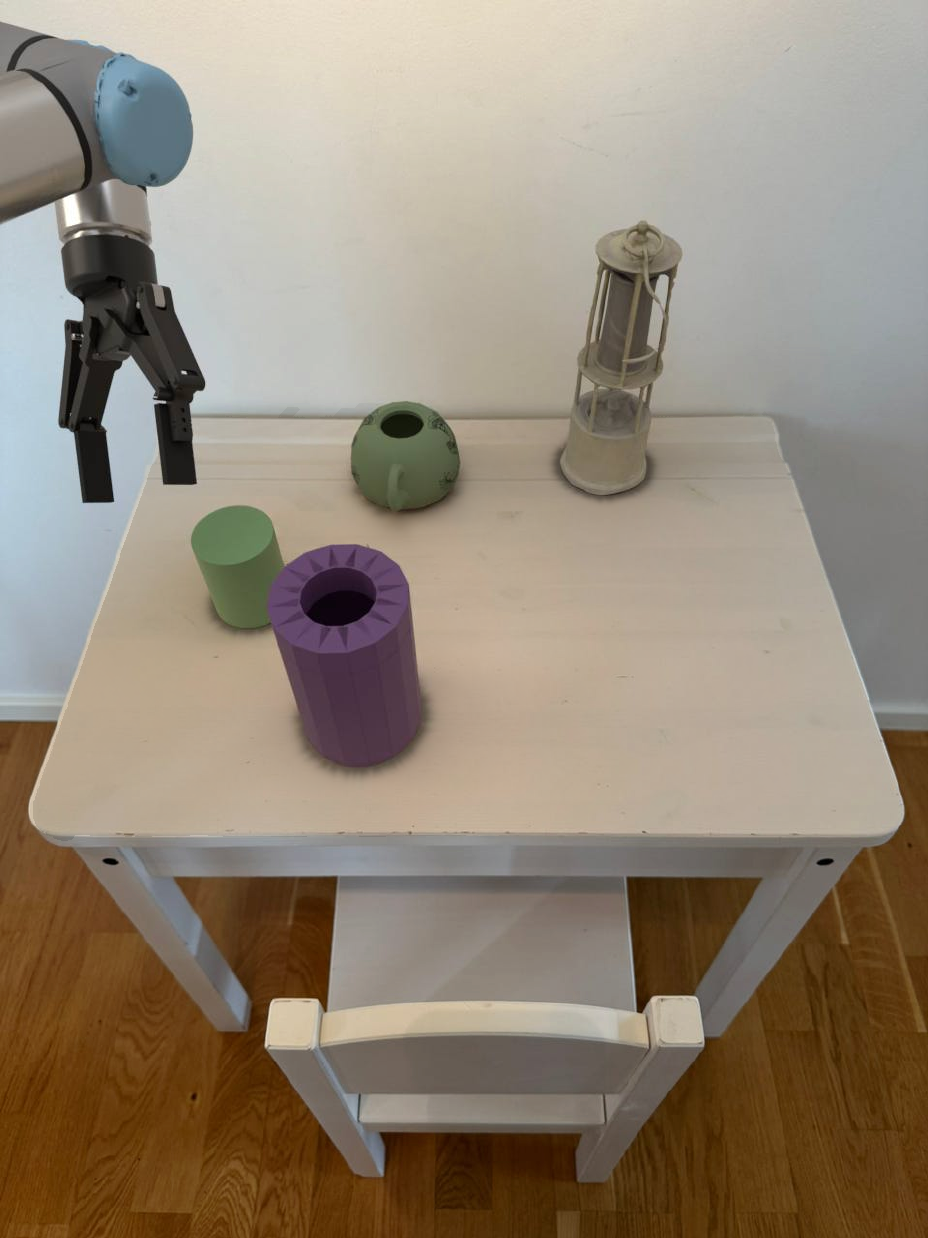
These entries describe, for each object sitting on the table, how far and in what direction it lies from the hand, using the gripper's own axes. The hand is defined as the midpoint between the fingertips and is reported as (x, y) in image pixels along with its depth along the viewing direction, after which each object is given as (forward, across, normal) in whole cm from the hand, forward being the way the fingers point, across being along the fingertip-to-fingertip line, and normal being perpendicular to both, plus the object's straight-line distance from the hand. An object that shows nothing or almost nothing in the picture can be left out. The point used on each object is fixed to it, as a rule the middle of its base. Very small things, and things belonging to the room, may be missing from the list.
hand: (137, 494), depth 76 cm
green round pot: (0, 0, -34) cm, 34 cm away
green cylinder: (+10, +6, -15) cm, 19 cm away
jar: (+22, -10, -15) cm, 29 cm away
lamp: (0, -18, -50) cm, 54 cm away
